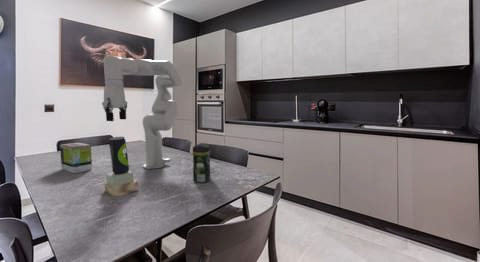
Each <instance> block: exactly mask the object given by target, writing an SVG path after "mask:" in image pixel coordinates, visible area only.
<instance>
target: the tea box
mask: <svg viewBox="0 0 480 262" xmlns="http://www.w3.org/2000/svg"><path fill="white" fill-rule="evenodd" d="M59 148H60V162H61V163H60V165H61V170H63V171H66V172H69V173H72V174H76V173H83V172H87V171H91V170H93V163H92V162H93V161H92V160H93V159H92V145H91V144H89V143H84V142H72V143H61V144H60V145H59Z"/></svg>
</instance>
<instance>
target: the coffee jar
mask: <svg viewBox="0 0 480 262" xmlns="http://www.w3.org/2000/svg"><path fill="white" fill-rule="evenodd" d="M210 147H211V146H210V144H209V143H207V142H206V143H205V142H199V143H198V144H195V145H194V146H192V163H193V164H192V169H193V171H192V172H193V173H192V176H193V177H192V181H193V182H194V183H197V184H202V183H208V182H209V181H210V179H211V158H210V157H211V149H210Z"/></svg>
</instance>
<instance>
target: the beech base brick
mask: <svg viewBox="0 0 480 262" xmlns="http://www.w3.org/2000/svg"><path fill="white" fill-rule="evenodd" d="M103 185H104V190H105V192H106V193H107V194H109V195H110V196H112V197H113V198H116V197H119V196H123V195H127V194H130V193H133V192H136V191H139V182H138V180H137V179H135V178H134V181H132V182H129V183H126V184H122V185H119V186H116V187H113V186H112V185H110V184H109V183H107V181H106V182H104V183H103Z"/></svg>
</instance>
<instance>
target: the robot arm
mask: <svg viewBox="0 0 480 262" xmlns="http://www.w3.org/2000/svg"><path fill="white" fill-rule="evenodd" d="M103 69H104V71H103V72H104V73H103V74H104V83H105V86H104V89H103V102H101V105H102V107H103V110H104V113H105V118H106V122H114V121H115V120H114V112H113V111H114V109H118V110H119V111H118V113H119V114H118V115H119V120H127V108H128V101H126V94H125V89H124V76H125V75H126V76H156V77H155V84H156V89H157V95H156V98H155V100H154V102H153V104H152V107H151V112H152V113H149V114H147V115H145V116H144V117H143V119H142V126H143V130H144V141H145V143H144V147H145V163H144V164H143V165H142V167H143V168H144V169H145V170H146V169H147V170H154V169H156V170H157V169H161V168H164V167H165V166H166V163H170V162H171V158H164V157H163V137H162V133H161V131H163V132H165V131H166V132H168V131H170V130H171V129H172V128H173V126H174V124H175V121H176V118H177V116H178V113H179V104H178V102H177V101H175V100H173V99H172V95H171V92H170V91H169V88H170V89H171V88H172V89H174V88H175V89H177V88H180V87H181V86H182V83H183V82H182V81H183V80H182V77H181V75H180V73H179V72H178V70H177V68H176V67H175V65H174V64H173V62H171V61H169V60H164V59H163V60H154V59H153V60H152V59H144V58H143V59H142V58H141V59H133V58H130V57H129V58H127V57H126V58H125V57H119V56H117V55H105V56H104V57H103Z"/></svg>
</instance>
